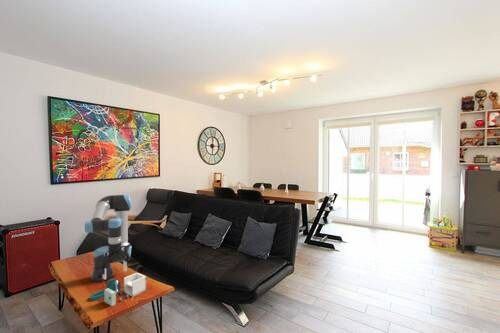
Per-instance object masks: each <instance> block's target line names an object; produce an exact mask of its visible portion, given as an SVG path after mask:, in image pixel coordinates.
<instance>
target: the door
mask: <svg viewBox="0 0 500 333" xmlns="http://www.w3.org/2000/svg"><path fill="white" fill-rule="evenodd" d="M104 289H105V290H104ZM104 289H103V290H104V297H103V299H104V300H103V301H104V303H105V304H107V305H110V306H111V307H113V306H116V303H117V301H116V300H117V295H116V292H115V291H113V290H111V289H109V288H107V289H106V288H104Z"/></svg>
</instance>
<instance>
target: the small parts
mask: <svg viewBox="0 0 500 333" xmlns="http://www.w3.org/2000/svg"><path fill="white" fill-rule="evenodd" d="M117 281H118V280H117V279H116V282H115V286H116V290H115V292H116V296H118V294H119V293H120V295H121V296H120V298H119V301H120V302H123V297H122V295H123V292H124V291H118V290H117V286H118V282H117ZM125 296H126V299H129V298H130V295H129V294H127V293H126V294H125Z"/></svg>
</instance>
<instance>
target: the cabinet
mask: <svg viewBox="0 0 500 333" xmlns="http://www.w3.org/2000/svg"><path fill="white" fill-rule="evenodd" d="M145 291H147V276H146V275H144V274H141V273H139V272H135V273H133V274H130V275H128V276H125V277H124V278H123V292H124V293H125V294H126V295H127V294H128V295H129V296H131V297H135V296H138V295H140V294H141V293H143V292H145Z"/></svg>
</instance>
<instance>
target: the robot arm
mask: <svg viewBox="0 0 500 333" xmlns="http://www.w3.org/2000/svg"><path fill="white" fill-rule="evenodd" d="M132 208H133V206H132V199H131V195H129V194H116V195H115V194H114V195H113V194H111V195H106V196H104V197H102V198H101V199H99V200H98V201H97V202H96V205H95V210H94V212H93V215H92V218H91V220H87V221H86V222H84V231H85V233H97V232H98V233H99V232H108V238H107V239H108V240H107V241H108V245H105V246H100V247H98V248H96V249H95V250H94V251H93V270H92V273H91V276H90V279H91V282H103V281H107V280H110V279H112V278H113V276H114V270H113V268H112V265H111V264H115V263H121V262H122V264H123V266H122V267H123V268H122V270H123V272H127V269H128V268H127V266H128V264H129V263H128V262H129V261H130V260H131V254H132V247H133V246H132V245H131V244H130V242H128V241H129V236H128V235H129V234H128V231H129V230H128V229H129V213H130V211H131V209H132ZM110 210H113V212H114V213H115V214H116V216H115V218H111V219H105V217H106V215H107V212H108V211H110Z"/></svg>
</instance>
